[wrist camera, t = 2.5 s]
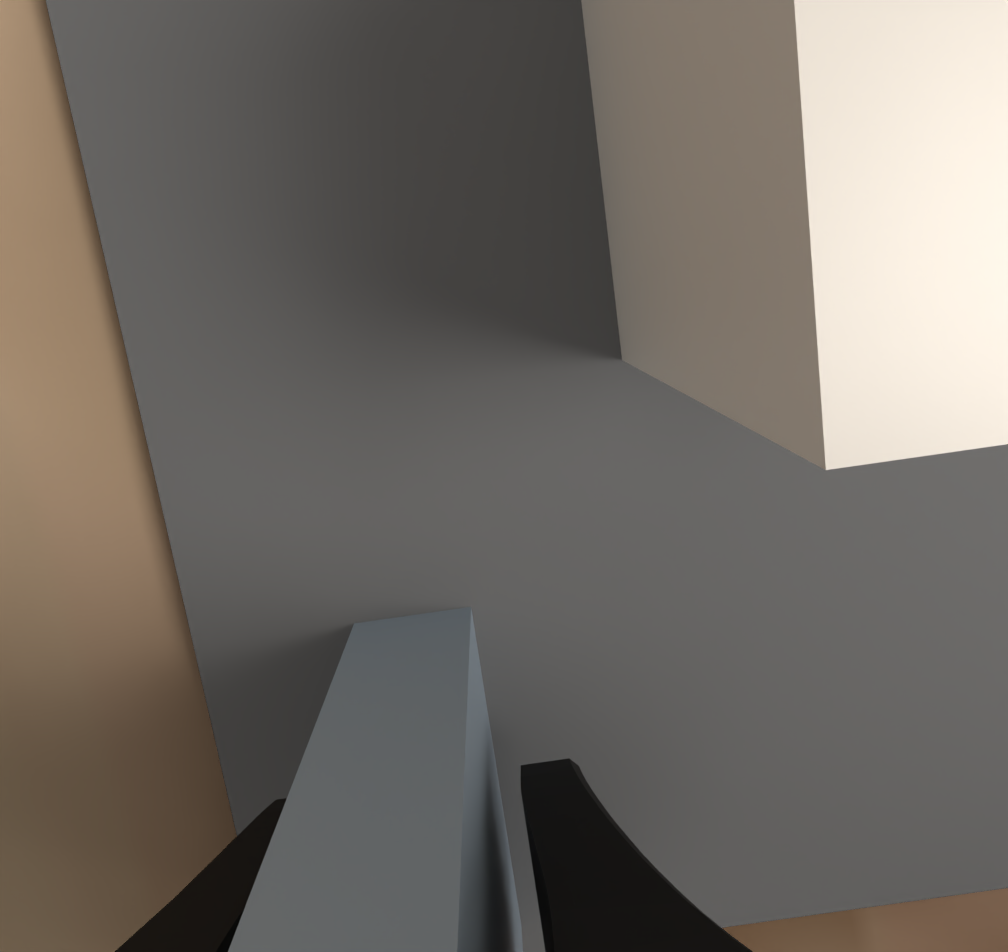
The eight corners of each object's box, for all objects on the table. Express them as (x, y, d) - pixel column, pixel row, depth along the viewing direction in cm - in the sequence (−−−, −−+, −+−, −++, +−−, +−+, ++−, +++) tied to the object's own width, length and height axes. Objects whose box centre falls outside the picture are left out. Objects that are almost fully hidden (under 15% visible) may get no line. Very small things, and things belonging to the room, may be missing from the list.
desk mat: (1904, -395, 10) (1958, -422, 10) (1719, 769, 14) (1756, 784, 13) (32, -117, 11) (14, -132, 10) (278, 969, 14) (272, 989, 13)
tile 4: (709, -88, 10) (1144, -805, 4) (746, 342, 11) (1132, 425, 5) (572, -69, 10) (743, -737, 4) (621, 360, 11) (825, 470, 5)
